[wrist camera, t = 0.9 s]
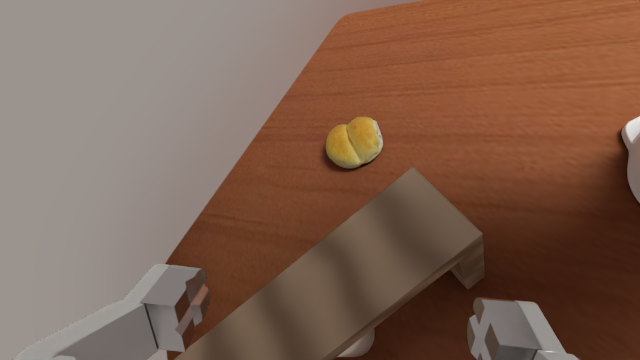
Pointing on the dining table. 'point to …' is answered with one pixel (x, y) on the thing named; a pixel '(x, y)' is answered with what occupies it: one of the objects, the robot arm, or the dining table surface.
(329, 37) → the dining table surface
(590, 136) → the dining table surface
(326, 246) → the arch
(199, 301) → the robot arm
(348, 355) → the white cylinder
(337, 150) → the bread roll
